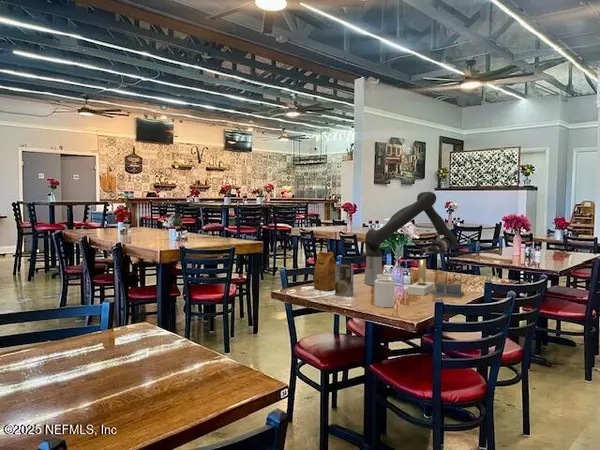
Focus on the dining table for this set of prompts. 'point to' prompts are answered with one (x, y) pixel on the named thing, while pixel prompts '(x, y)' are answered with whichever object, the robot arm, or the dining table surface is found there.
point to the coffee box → (344, 280)
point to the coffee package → (325, 271)
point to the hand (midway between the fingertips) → (428, 252)
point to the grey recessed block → (421, 288)
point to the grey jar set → (384, 291)
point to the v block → (448, 290)
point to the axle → (422, 272)
